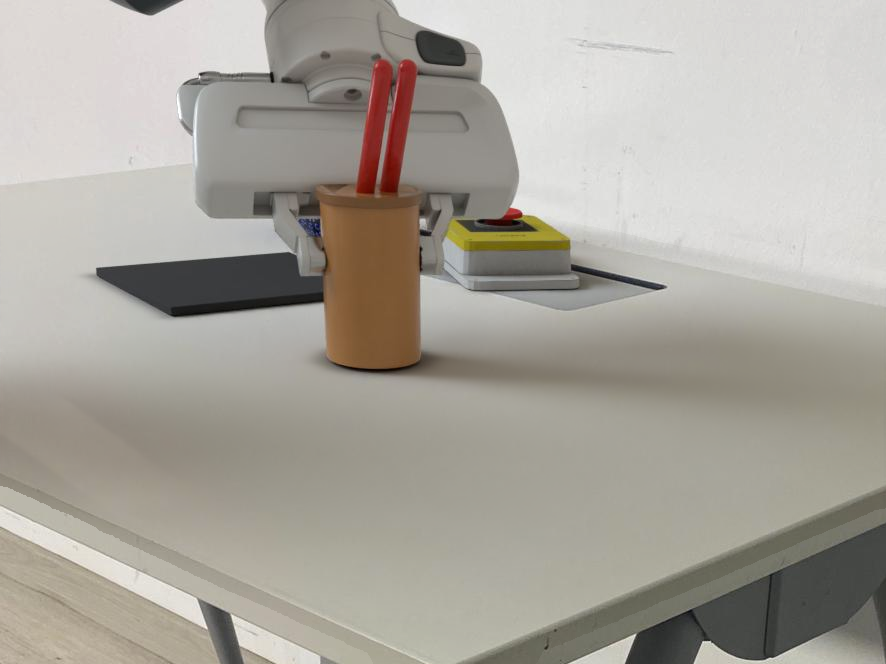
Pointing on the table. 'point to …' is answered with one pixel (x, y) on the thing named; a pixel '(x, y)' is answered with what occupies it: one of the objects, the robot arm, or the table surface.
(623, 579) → the table surface
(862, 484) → the table surface
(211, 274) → the mat
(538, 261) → the emergency button
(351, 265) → the pliers tin
